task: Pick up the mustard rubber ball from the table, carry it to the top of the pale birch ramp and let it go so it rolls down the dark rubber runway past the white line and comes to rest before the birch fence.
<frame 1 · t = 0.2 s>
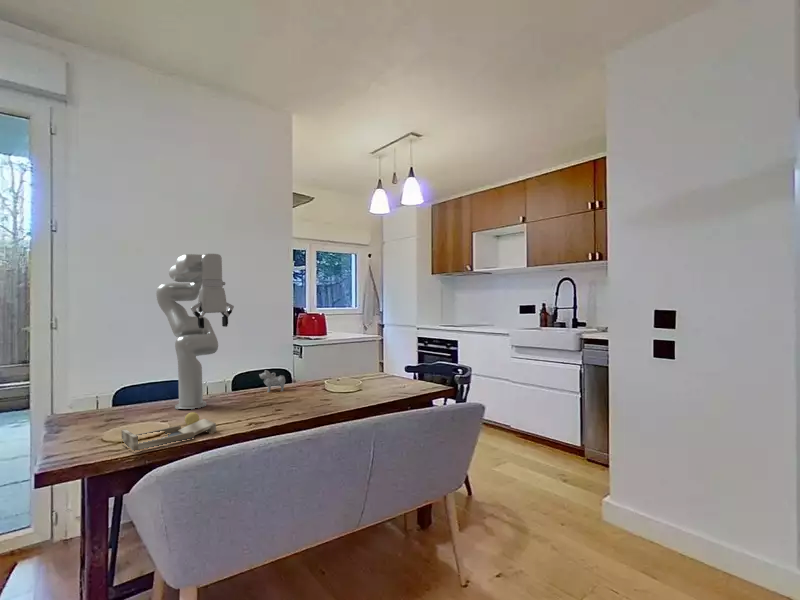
hand: (213, 327, 187), 36 cm above the table, tool pointing down, fingers open, 9 cm apart
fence: (159, 441, 157), on the table
runway: (159, 441, 157), resting in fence
ramp: (196, 433, 166), on the table
ball: (192, 419, 175), point 2 cm above the table
grey dog figurine: (273, 391, 236), on the table
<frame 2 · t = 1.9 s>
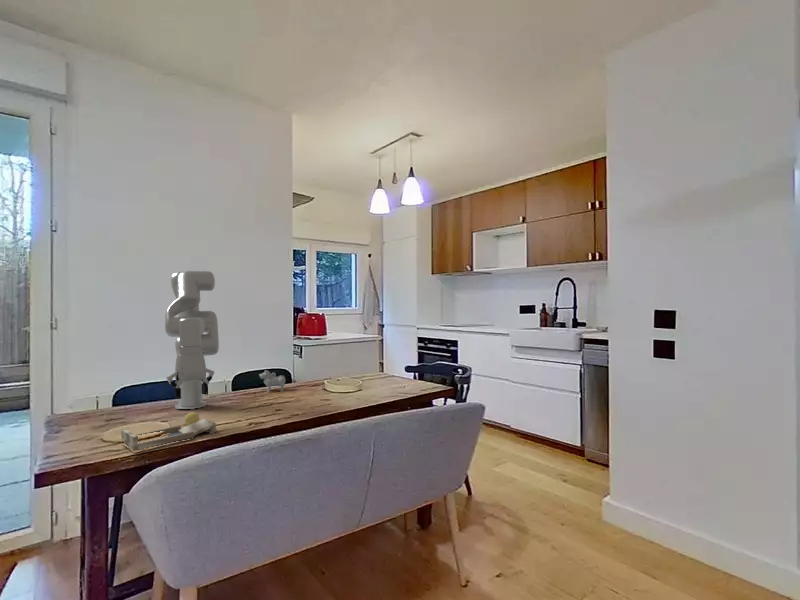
hand: (191, 396, 175), 11 cm above the table, tool pointing down, fingers open, 9 cm apart
nothing on the table moved.
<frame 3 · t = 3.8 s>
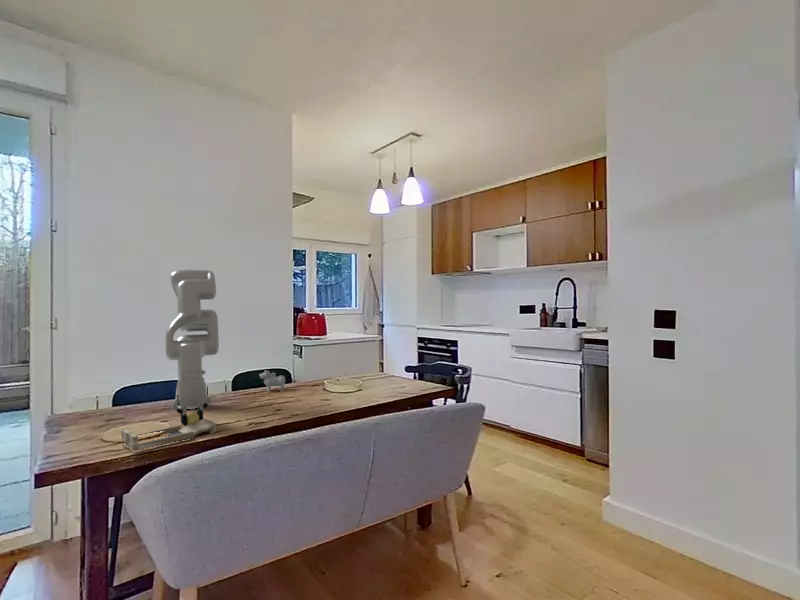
hand: (192, 422, 175), 1 cm above the table, tool pointing down, fingers closed on ball, 4 cm apart
ball: (192, 419, 175), point 2 cm above the table, touching gripper
everything else where it was.
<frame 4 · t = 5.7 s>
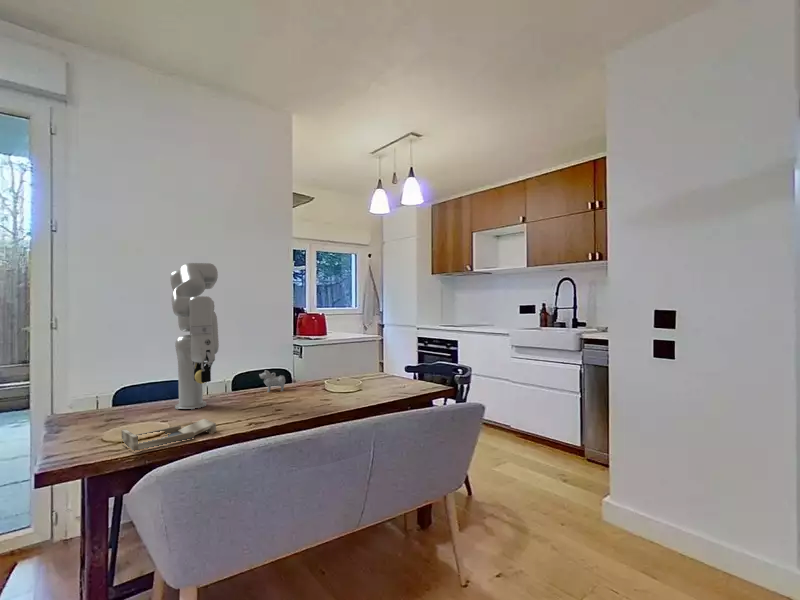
hand: (202, 380, 168), 18 cm above the table, tool pointing down, fingers closed on ball, 4 cm apart
ball: (202, 376, 168), point 20 cm above the table, touching gripper
everything else where it was.
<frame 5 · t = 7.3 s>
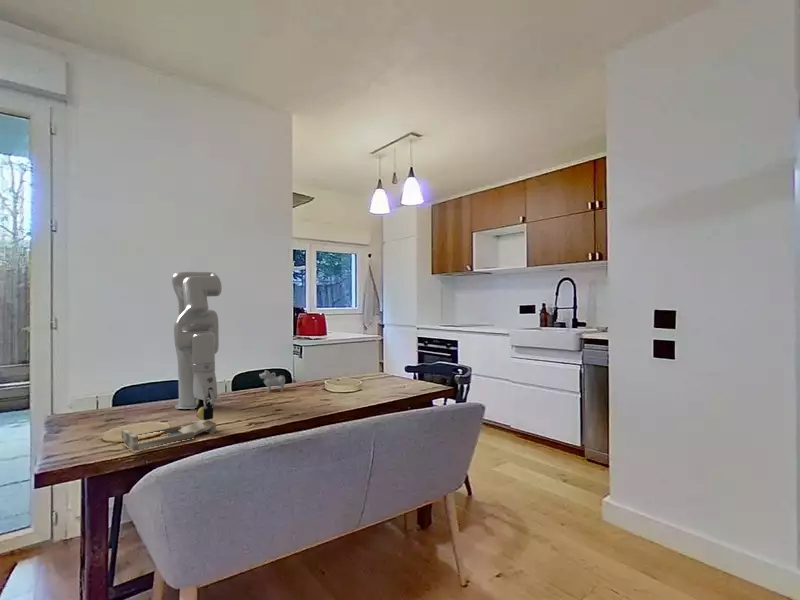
hand: (204, 417, 168), 5 cm above the table, tool pointing down, fingers closed on ball, 4 cm apart
ball: (204, 413, 168), point 7 cm above the table, touching gripper
everything else where it was.
when the fingers open (5 cm above the table, at t = 8.0 s): ball drops 3 cm and tips over, resting on runway.
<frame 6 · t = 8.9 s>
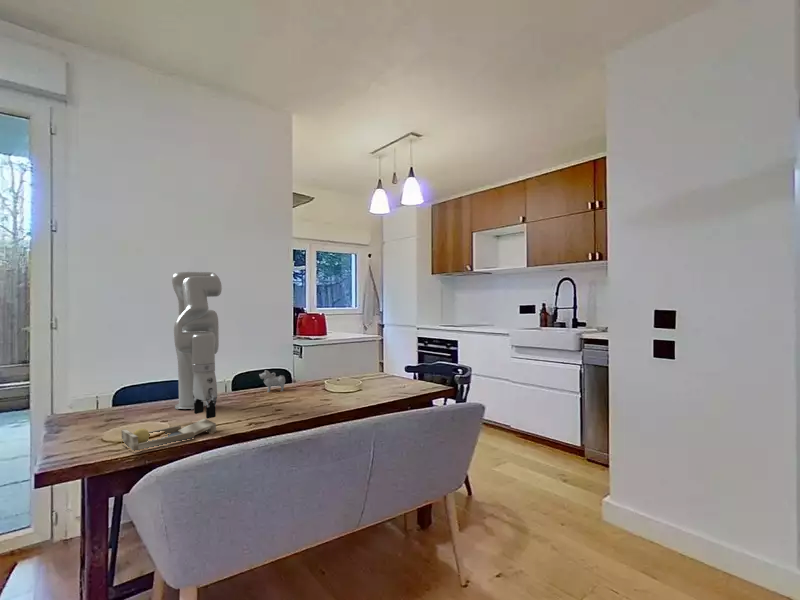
hand: (204, 415, 168), 6 cm above the table, tool pointing down, fingers open, 9 cm apart
ball: (140, 436, 152), point 3 cm above the table, tilted 143°, touching runway
everything else where it was.
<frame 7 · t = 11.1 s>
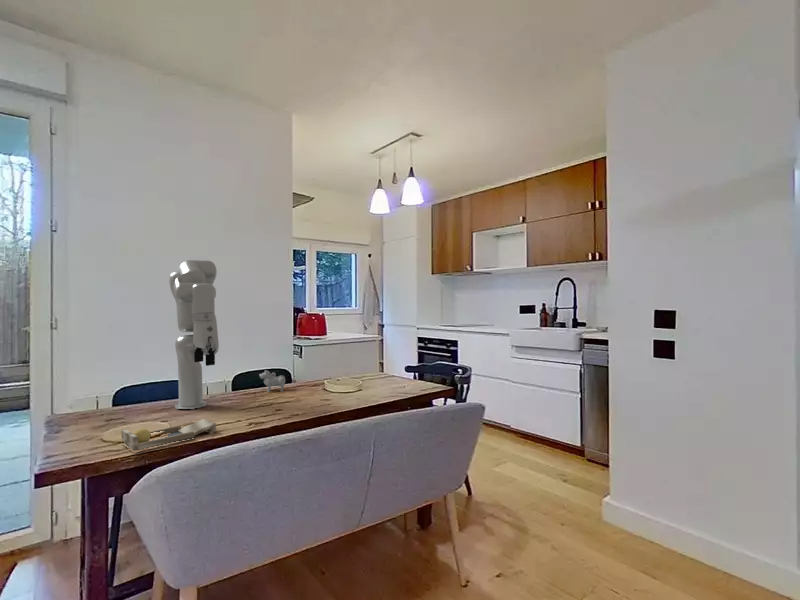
hand: (204, 363, 172), 24 cm above the table, tool pointing down, fingers open, 9 cm apart
nothing on the table moved.
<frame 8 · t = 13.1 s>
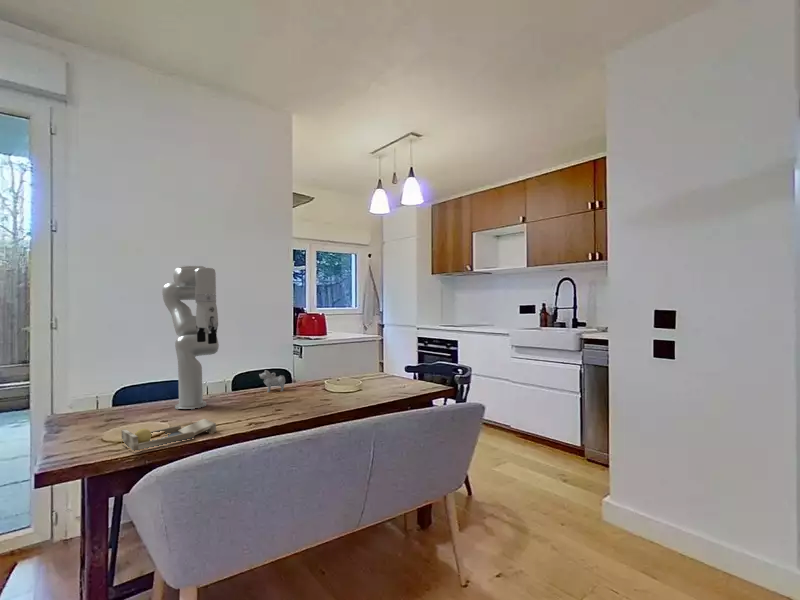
hand: (206, 342, 183), 30 cm above the table, tool pointing down, fingers open, 9 cm apart
ball: (142, 436, 152), point 3 cm above the table, tilted 133°, touching runway
everything else where it was.
at the end: ball inside the target area (1.3 cm from its centre), point 3.3 cm above the table; ball moved 24.1 cm from its start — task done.
